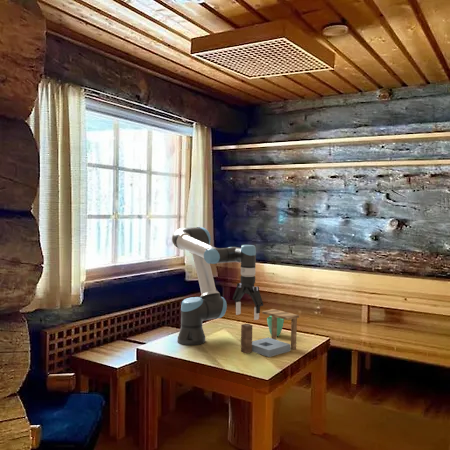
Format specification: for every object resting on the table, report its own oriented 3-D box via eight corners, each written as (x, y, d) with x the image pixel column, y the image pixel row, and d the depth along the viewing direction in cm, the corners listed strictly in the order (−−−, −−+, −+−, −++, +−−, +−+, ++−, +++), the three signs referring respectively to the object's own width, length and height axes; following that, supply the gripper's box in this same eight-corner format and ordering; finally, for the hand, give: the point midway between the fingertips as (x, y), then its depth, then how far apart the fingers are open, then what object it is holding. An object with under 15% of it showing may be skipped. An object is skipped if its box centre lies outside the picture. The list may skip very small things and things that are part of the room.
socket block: (246, 349, 258) (246, 342, 258) (268, 343, 268) (268, 337, 268) (268, 357, 246) (268, 350, 245) (290, 351, 256) (290, 344, 256)
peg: (240, 351, 254) (241, 324, 253) (246, 350, 256) (247, 323, 256) (246, 353, 251) (246, 326, 250) (251, 352, 253) (252, 325, 253)
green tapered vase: (286, 337, 281) (286, 320, 281) (270, 338, 279) (270, 320, 278) (277, 330, 295) (277, 313, 295) (261, 331, 293) (262, 314, 292)
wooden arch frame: (261, 344, 266) (262, 311, 265) (273, 341, 272) (273, 308, 271) (286, 353, 253) (287, 317, 252) (298, 349, 259) (299, 315, 258)
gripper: (226, 273, 258) (225, 313, 259) (260, 279, 239) (259, 322, 241) (236, 271, 263) (236, 311, 264) (270, 278, 244) (270, 320, 245)
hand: (247, 316), depth 252 cm, fingers open, 13 cm apart
